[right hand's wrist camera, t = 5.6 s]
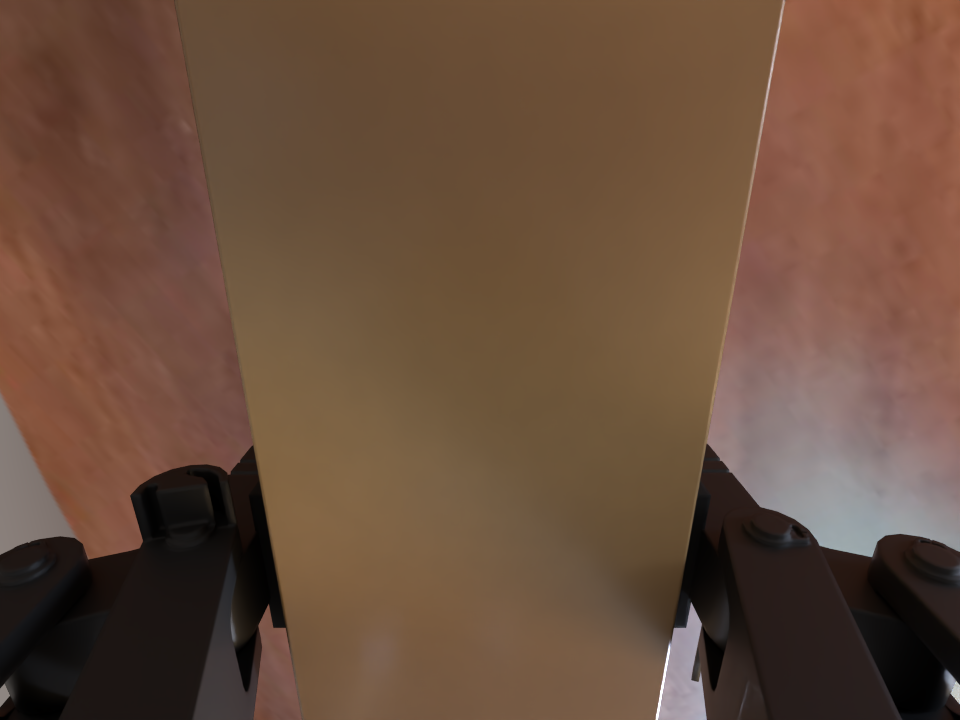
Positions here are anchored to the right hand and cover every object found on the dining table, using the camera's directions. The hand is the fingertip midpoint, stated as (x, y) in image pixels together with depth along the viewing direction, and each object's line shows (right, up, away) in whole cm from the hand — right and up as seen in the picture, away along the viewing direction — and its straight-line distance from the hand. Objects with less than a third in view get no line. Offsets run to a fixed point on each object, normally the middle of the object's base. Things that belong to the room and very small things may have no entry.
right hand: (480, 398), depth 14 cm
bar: (0, +7, -2) cm, 7 cm away
